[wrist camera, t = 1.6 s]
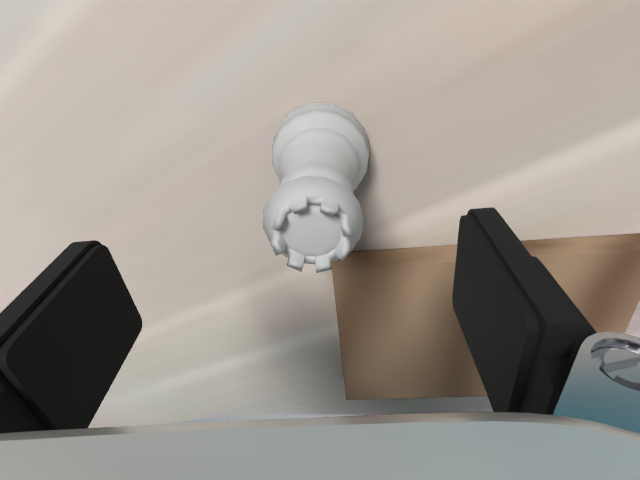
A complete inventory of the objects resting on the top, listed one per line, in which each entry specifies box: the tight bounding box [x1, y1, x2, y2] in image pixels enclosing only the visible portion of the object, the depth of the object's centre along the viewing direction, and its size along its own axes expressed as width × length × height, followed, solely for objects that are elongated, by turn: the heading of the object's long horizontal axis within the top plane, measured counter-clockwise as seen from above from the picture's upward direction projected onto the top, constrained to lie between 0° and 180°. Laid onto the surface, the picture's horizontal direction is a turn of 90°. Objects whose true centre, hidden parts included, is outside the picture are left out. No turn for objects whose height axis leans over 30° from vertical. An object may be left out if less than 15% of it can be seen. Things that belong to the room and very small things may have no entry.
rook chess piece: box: [263, 102, 370, 273], centre depth 15 cm, size 4×4×8 cm
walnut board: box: [332, 233, 640, 400], centre depth 23 cm, size 16×11×2 cm
